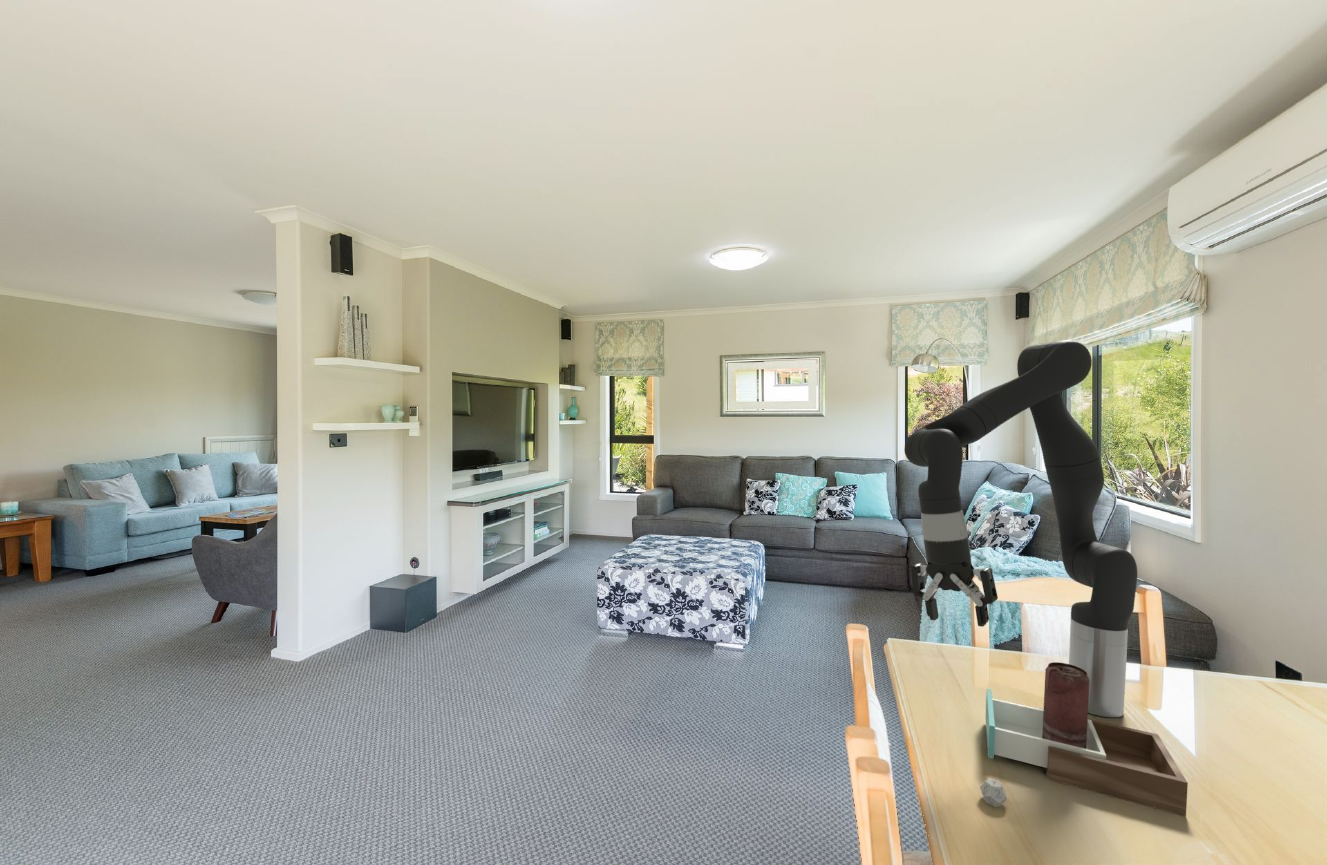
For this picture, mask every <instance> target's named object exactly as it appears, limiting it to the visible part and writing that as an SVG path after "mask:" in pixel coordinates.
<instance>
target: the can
mask: <svg viewBox="0 0 1327 865" xmlns="http://www.w3.org/2000/svg"><path fill="white" fill-rule="evenodd" d="M1044 670H1045V672H1044V673H1045V674H1044V695H1043V709H1044V711H1043V731H1042V739H1047V740H1051V741H1055V742H1059V743H1063V744H1068V745H1072V746H1076V747H1080V748H1084V749H1086V742H1087V723H1088V719H1089V718H1088V717H1089V713H1088V703H1089V684H1090V680H1089V677H1088V675H1087V672H1086V671H1084V670H1083V669H1081V668H1079V667H1076V666H1074V665H1070V664H1069V663H1064V662H1058V661H1057V662H1049V663H1048V665H1047V667H1046V668H1045V669H1044Z"/></svg>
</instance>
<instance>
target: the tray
mask: <svg viewBox="0 0 1327 865" xmlns="http://www.w3.org/2000/svg"><path fill="white" fill-rule="evenodd" d="M985 694H986V696H985V728H986V731H985V732H986V741H987V742H986V744H987V757H988V758H991V759H994V758H995V756H999V757H1002V758H1005V759H1007V758H1008V759H1010V760H1015V761H1019V762H1023V763H1027V764H1030V765H1034V766H1038V767H1042V768H1044V769H1045V768H1047V766H1048V746H1051V747H1055V748H1059V749H1064V750H1068V751H1072V752H1076V753H1080V754H1084V755H1088V756H1092V757H1096V758H1101V759H1105V760H1106V754H1105V752H1104V749H1103V747H1102V744H1101V742H1100V740H1099V737H1098V735H1097V733H1096V730H1095V728H1094V725H1093V723H1092V721H1091V720H1092V719H1091V720H1088V723H1087V742H1086V749H1084V748H1080V747H1076V746H1072V745H1068V744H1063V743H1059V742H1055V741H1051V740H1047V739H1042V731H1043V711H1044V710H1043V709H1044V708H1041V709H1039V708H1037V707H1033V706H1028V705H1024V704H1019V703H1015V702H1010V701H1006V700H1001V699H996V698H993V693H992V689H988V688H986V693H985Z"/></svg>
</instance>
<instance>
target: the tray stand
mask: <svg viewBox="0 0 1327 865" xmlns="http://www.w3.org/2000/svg"><path fill="white" fill-rule="evenodd" d="M1038 709H1043V710H1044V708H1038ZM1088 720H1091V721H1092V723H1093V725H1094V728H1095V730H1096V733H1097V735H1098V737H1099V740H1100V742H1101V744H1102V747H1103V749H1104V752H1105V754H1106V760H1105V759H1101V758H1096V757H1092V756H1088V755H1084V754H1080V753H1076V752H1072V751H1068V750H1064V749H1059V748H1055V747H1051V746H1048V766H1047V768H1045V767H1044V769H1045V773H1046V777H1047V780H1048V781H1053V782H1057V783H1060V784H1064V785H1067V786H1072V787H1075V788H1080V789H1083V790H1085V791H1091V792H1094V793H1098V794H1102V795H1106V796H1109V797H1113V798H1116V799H1121V800H1124V801H1128V802H1131V803H1136V804H1139V805H1143V806H1147V807H1150V808H1154V809H1157V810H1162V811H1166V812H1169V813H1172V814H1177V815H1180V816H1185V817H1186V816H1187V802H1188V781H1187V779H1186V778H1185V776H1184V775H1183V773H1182V771H1181V769H1180V767H1179V766H1178V765H1177V763H1176V762H1175V760H1174V758H1173V756H1172V755H1171V753H1170V752H1169V750H1168V749H1167V747H1166V744H1165V743H1164V742H1163V740H1162V738H1161V737H1160V735H1159V734H1158V733H1155V732H1154V733H1153V732H1149V731H1146V730H1140V729H1135V728H1131V727H1128V726H1121V725H1118V724H1117V725H1116V724H1113V723H1109V722H1108V723H1107V722H1104V721H1099V720H1095V719H1090V718H1088Z"/></svg>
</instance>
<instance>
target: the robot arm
mask: <svg viewBox="0 0 1327 865" xmlns="http://www.w3.org/2000/svg"><path fill="white" fill-rule="evenodd" d="M1091 355H1092V354H1091V352H1090V350H1089V349H1088V348H1087V346H1086V345H1084V344H1083V343H1082V342H1079V341H1075V340H1071V339H1070V340H1068V339H1067V340H1066V339H1065V340H1057V341H1055V340H1054V341H1052V342H1045V343H1038V344H1032V345H1029V346H1027V347H1025V348H1024V349H1023V350H1021V352H1020V354H1019V356H1018V358H1017V362H1016V363H1017V364H1016V367H1017V368H1016V369H1017V371H1016V372H1017V377H1016V378H1013V379H1011V380H1009V381H1007V382H1004V383H1002V384H999V385H997V386H994V387H992V388H990V389H987V390H985V391H984V392H982V393H979V394H977V395H976V396H974V397H972V398H970V399H969V400H968V401H966V402H964V403H963V404H961V405H960V406H958V407H957V408H956V409H954V410H953V411H952V412H950V413H949V414H947V415H945V416H943V417H940V418H938V419H936V420H935V421H932V422H930V423H928V424H926V425H924V426H922V427H920V428H918V429H917V430H915V431H914V432H913V433H911V434H910V435H909V436H908V438H907V439H906V441H905V444H904V455H905V457H906V459H907V460H908V461H909V462H910V463H911V464H913V465H915V466H918V467H924V468H926V467H927V478H926V480H924V481H922V482H921V483H919V485H918V488H917V490H918V494H917V495H918V499H919V506H920V507H919V508H920V513H921V516H920V518H921V520H920V521H921V522H920V524H921V529H922V530H921V535H922V537H923V539H922V540H923V543H924V551H925V559H926V562H927V563H926V565H924V564H923V563H921V562H917V563H915V564H914V565H912V566H911V567H910V570H911V583H912V594H913V595H914V596H915V597H920V598H922V599H923V600H924V604H925V611H926V616H927V617H929V619H930V621H936V620H938V619H939V610H938V602H937V598H935V596H936V594H937V593H938V591H939V590H940V589H941V590H942V591H950V590H951V591H953V592H958V593H959V592H963V593H964V595H965V596H966V597H967V598H969V599H971V600H972V602H973V603H974V604H975V605H974V606H975V607H974V608H975V615H976V623H977V626H978V627H981V628H983V627H985V626H986V625H987V624H988V623H989V621H990V615H989V610H988V605H992V604H993V603H995V602H996V601H997V600H998V592H997V587H996V583H995V578H994V573H993V569H992V568H991V567H990V566H986V567H984V568H975V567H974V566H973V564H972V556H971V549H970V542H969V534H968V528H967V523H966V519H965V515H964V511H963V506H962V498H961V492H960V483H961V477H962V468H963V458H964V457H963V455H964V452H963V446H966V445H971V444H973V443H976V442H977V441H979V440H981V439H982V438H984V437H985V436H987V435H988V434H990V433H991V432H993V431H994V430H996V429H997V428H999V427H1000V426H1001V425H1003V424H1004V423H1006V422H1007V421H1009V420H1011V419H1012V418H1014V417H1015V416H1018V415H1019V414H1020V413H1022V412H1024V411H1026V410H1027V409H1029V410H1030V413H1031V416H1032V419H1033V422H1034V426H1035V430H1036V434H1037V437H1038V441H1039V444H1040V448H1041V453H1042V458H1043V459H1042V460H1043V463H1044V467H1045V471H1046V472H1045V473H1046V475H1047V476H1046V477H1047V480H1048V483H1049V485H1050V486H1049V487H1050V490H1051V495H1052V500H1053V504H1054V509H1055V514H1056V518H1057V523H1058V525H1057V526H1058V534H1059V543H1060V550H1061V558H1062V563H1063V567H1064V570H1065V572H1066V574H1067V575H1068V576H1069V578H1070V579H1072V580H1073V581H1075V582H1077V583H1078V584H1080V585H1083V586H1087V587H1089V588H1092V591H1091V597H1090V600H1089V601H1079V602H1075V603H1073V604H1072V605H1071V609H1070V623H1069V625H1070V626H1069V627H1070V629H1069V631H1070V632H1069V647H1068V648H1069V649H1068V650H1069V652H1068V664H1070V665H1074V666H1076V667H1079V668H1081V669H1083V670H1084V671H1086V672H1087V675H1088V677H1089V680H1090V684H1089V703H1088V714H1092V715H1095V716H1099V717H1105V718H1120V717H1122V716H1123V715H1124V712H1125V694H1126V676H1127V675H1126V674H1127V673H1126V672H1127V654H1128V636H1129V635H1128V633H1129V632H1128V630H1129V629H1128V628H1129V622H1130V619H1131V617H1132V615H1133V612H1134V608H1135V602H1136V599H1135V598H1136V592H1137V591H1136V590H1137V585H1138V566H1137V561H1136V560H1135V558H1134V556H1133V555H1132V553H1130V552H1129V551H1128V550H1126V549H1123V548H1120V547H1117V546H1113V545H1109V544H1105V543H1101V542H1099V540H1098V538H1097V535H1096V532H1095V528H1094V521H1093V520H1094V519H1093V518H1094V517H1093V514H1094V510H1095V507H1096V505H1097V503H1098V501H1099V499H1100V496H1101V495H1102V494H1101V493H1102V492H1103V488H1104V484H1105V474H1104V470H1103V466H1102V462H1101V461H1102V460H1101V457H1100V452H1099V450H1098V447H1097V445H1096V444H1095V442H1094V440H1093V439H1092V438H1091V436H1089V433H1087V432H1086V430H1084V428H1083V427H1082V426H1081V425H1080V424H1079V423H1078V422H1077V420H1076V419H1075V418H1074V417H1073V416H1072V415H1071V414H1070V411H1069V410H1068V408H1067V407H1066V404H1065V402H1064V398H1063V395H1062V392H1064V391H1065V390H1068V389H1070V388H1074V387H1075V386H1077V385H1078V384H1080V383H1081V382H1083V381H1084V380H1085V379H1086V378H1087V376H1089V373H1090V371H1091V368H1092V362H1093V361H1092V356H1091ZM926 574H927V576H929V577H930V578H931V582H930V583H929V585H928V586H927V587H926V588H927V589H925V577H924V576H925V575H926ZM975 576H976V578H977V579H978V581H979V582H981V586H982V589H983V592H982V591H981V589H980V587H979V586H978V585H977V583H976V582H975V581H974V580H973V578H974V577H975Z"/></svg>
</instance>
